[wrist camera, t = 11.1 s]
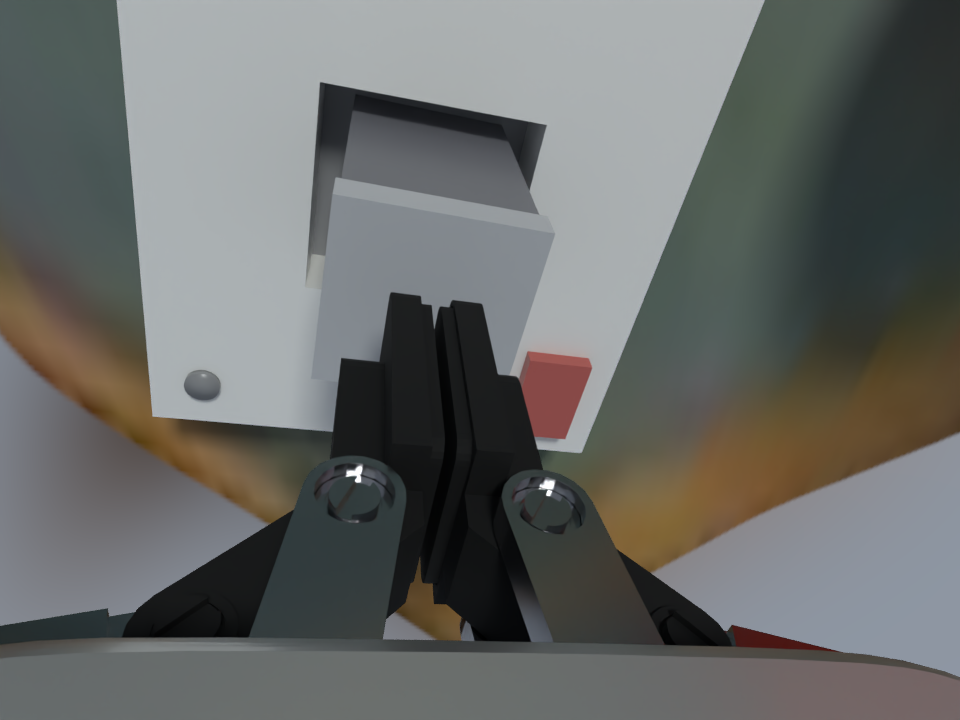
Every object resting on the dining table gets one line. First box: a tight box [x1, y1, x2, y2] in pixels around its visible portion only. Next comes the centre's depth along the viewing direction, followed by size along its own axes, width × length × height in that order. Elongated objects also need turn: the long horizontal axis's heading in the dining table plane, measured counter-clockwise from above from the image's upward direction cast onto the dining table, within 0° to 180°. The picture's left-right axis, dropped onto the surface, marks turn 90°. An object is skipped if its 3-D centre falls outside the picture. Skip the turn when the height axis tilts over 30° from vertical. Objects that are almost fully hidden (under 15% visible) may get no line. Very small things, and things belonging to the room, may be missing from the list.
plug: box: [311, 94, 555, 382], centre depth 16 cm, size 4×4×7 cm
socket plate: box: [117, 0, 765, 453], centre depth 18 cm, size 14×16×3 cm
